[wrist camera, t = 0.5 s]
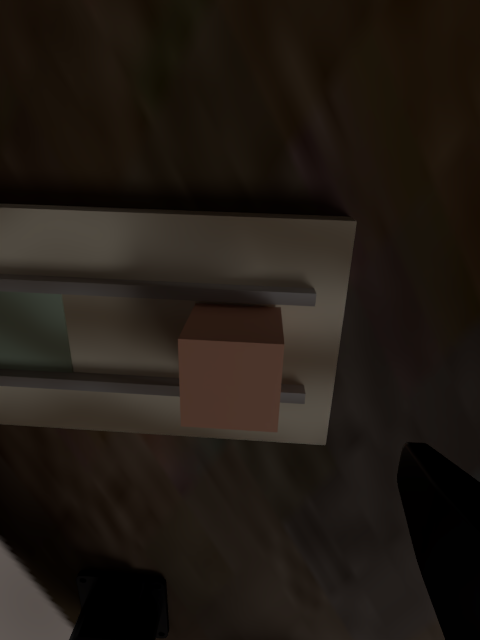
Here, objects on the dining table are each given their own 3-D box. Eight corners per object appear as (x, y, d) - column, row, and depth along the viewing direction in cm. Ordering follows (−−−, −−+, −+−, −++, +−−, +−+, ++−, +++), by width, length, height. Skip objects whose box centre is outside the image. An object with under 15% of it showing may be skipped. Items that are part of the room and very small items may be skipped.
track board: (321, 427, 23) (334, 487, 19) (-11, 406, 24) (-70, 459, 20) (349, 216, 18) (374, 232, 14) (-63, 201, 19) (-155, 212, 15)
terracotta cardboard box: (275, 381, 20) (277, 432, 16) (196, 377, 20) (180, 426, 16) (280, 307, 18) (284, 344, 14) (195, 303, 18) (177, 338, 15)
